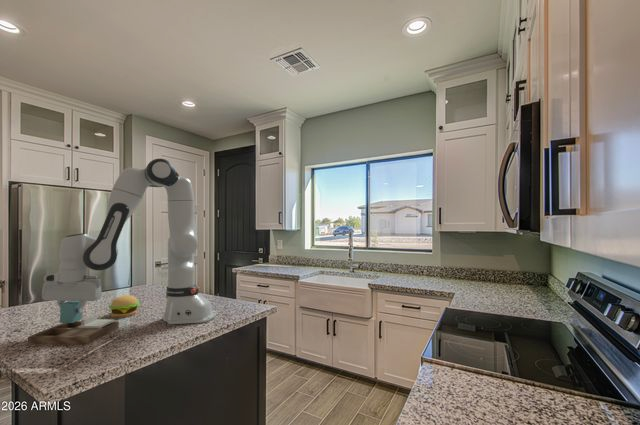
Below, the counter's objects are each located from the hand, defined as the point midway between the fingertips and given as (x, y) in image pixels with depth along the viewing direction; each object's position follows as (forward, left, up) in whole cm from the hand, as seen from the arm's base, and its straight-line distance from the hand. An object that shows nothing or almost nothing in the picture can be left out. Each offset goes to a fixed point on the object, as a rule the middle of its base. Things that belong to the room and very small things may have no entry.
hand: (71, 312), depth 110 cm
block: (0, 0, -3) cm, 3 cm away
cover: (-10, 0, -5) cm, 11 cm away
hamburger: (-4, -24, -9) cm, 26 cm away
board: (-5, +4, -8) cm, 10 cm away
